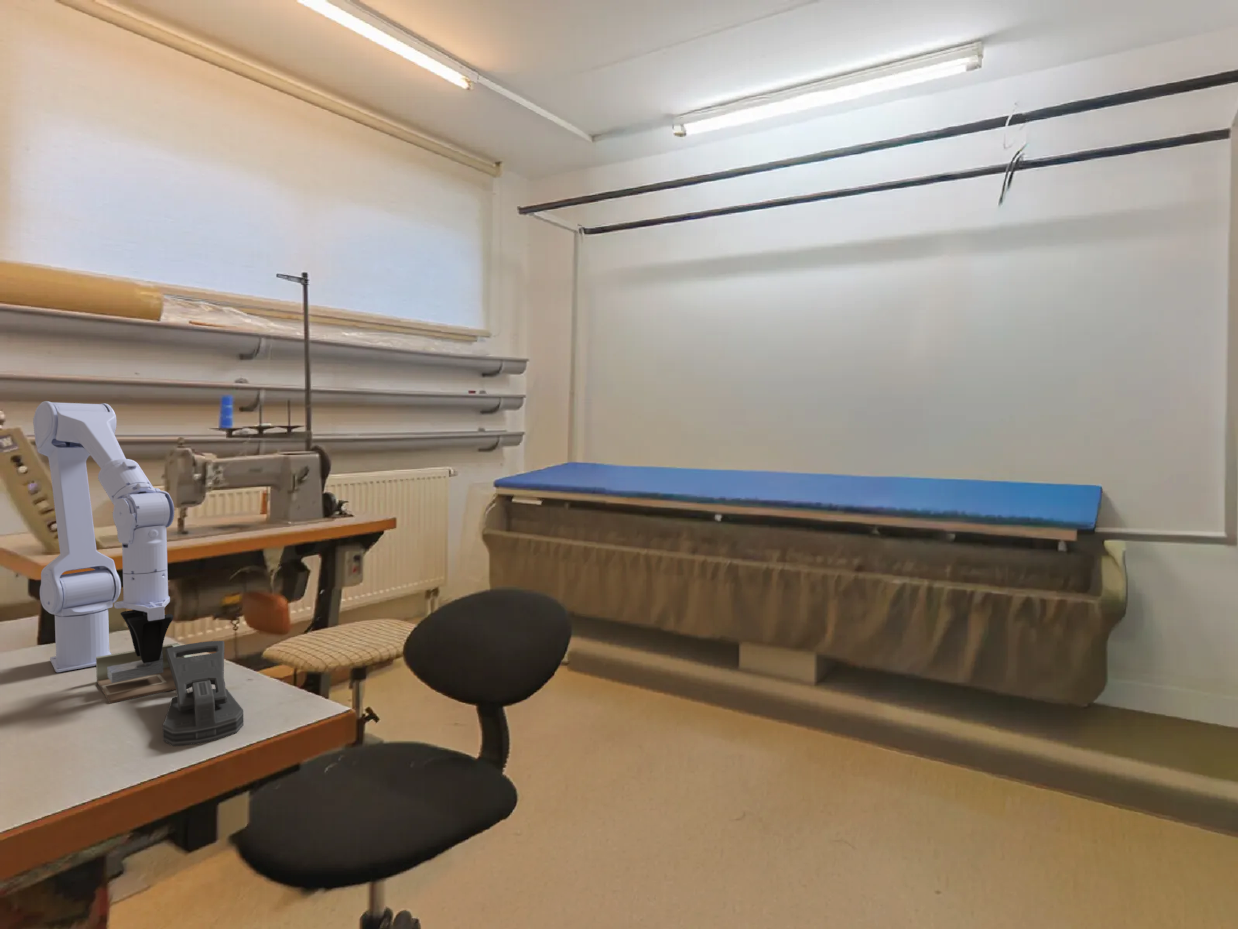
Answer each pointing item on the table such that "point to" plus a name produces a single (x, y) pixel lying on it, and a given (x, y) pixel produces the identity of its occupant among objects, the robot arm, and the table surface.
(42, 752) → the table surface
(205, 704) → the zipper pull
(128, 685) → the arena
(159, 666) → the angle bracket
